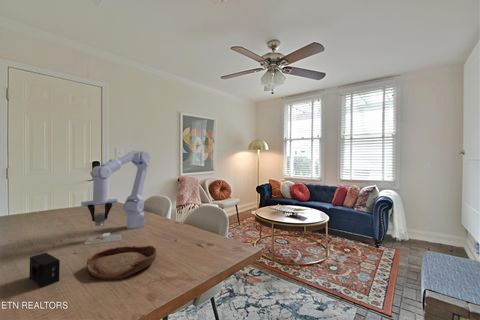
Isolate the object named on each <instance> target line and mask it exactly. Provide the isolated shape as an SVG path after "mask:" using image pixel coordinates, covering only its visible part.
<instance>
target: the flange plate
mask: <svg viewBox="0 0 480 320" xmlns="http://www.w3.org/2000/svg"><path fill="white" fill-rule="evenodd" d="M122 236H123V235H122V233H120V234H110V235H108V236H103V235H100V236H90V237H88V238H87V239H86V241H85V242H84V245H92V244H93V245H94V244H102V243H109V242H110V243H112V242H119V241H121V239H122ZM96 239H97V240H96ZM98 239H100V240H98Z"/></svg>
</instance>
